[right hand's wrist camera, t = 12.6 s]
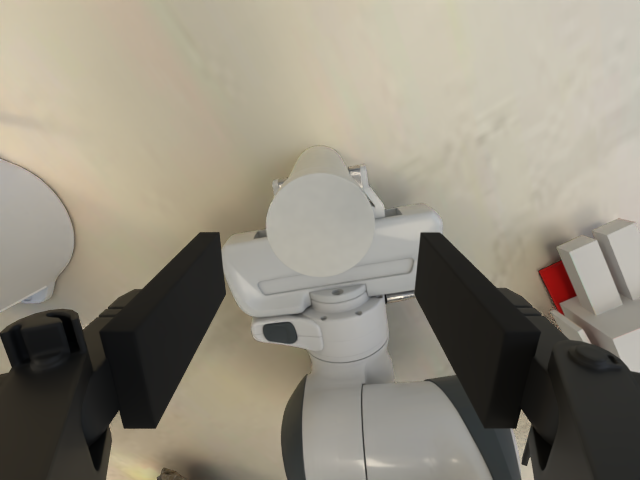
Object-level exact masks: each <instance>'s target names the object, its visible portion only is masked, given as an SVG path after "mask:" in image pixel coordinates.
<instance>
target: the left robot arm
mask: <svg viewBox="0 0 640 480" xmlns="http://www.w3.org/2000/svg"><path fill="white" fill-rule="evenodd" d="M348 171H349V173H350V175H351V177H352V178H353V179H354V180H355V181H356V182H357V183H358V184H359V185H360V187H361V188H362V190H363V191H364V193H365V194H366V195H367V196H368V198H369V199H370V200H371V201H369V202H370V204H371V206H372V209H373V212H374V218H375V233H374V237H373V241H372V243H371V246H370V248H369V250H368V251H367V253H366V254H365V256H364V257H363V258H362V259H361V260H360V261H359V262H358V263H357V264H356V265H355V266H353V267H352V268H350V269H349V270H347V271H345V272H343V273H340V274H337V275H334V276H329V277H312V276H307V275H303V274H301V273H298V272H296V271H294V270H292V269H290V268H289V267H288V266H286V265H285V264H284V263H283V262H282V261H280V260H279V258H278V257H277V256H276V255H275V253H274V252H273V250H272V248H271V246H270V244H269V241H268V238H267V233H266V229H262V230H256V231H250V232H244V233H237V234H233V235H231V236H230V237H229V238H228V240H227V241H226V242H225V244H224V245H223V247H222V249H221V252H222V262H223V271H224V275H225V278H226V281H227V283H228V286H229V288H230V291H231V293H232V295H233V297H234V299H235V301H236V303H237V305H238V306H239V308H240V309H241V310H242V311H243V312H244V313H246V314H247V315H249V316H252V322H251V332H252V336H253V338H254V339H255V340H257V341H259V342H264V343H273V344H281V345H287V346H293V347H298V348H303V349H306V350H307V352H308V354H309V356H310V358H311V362H312V371H311V373H310V374H309V375H308V374H307V375H306V376H305V377H304V378H303V379H302V380H301V382H300V383H299V385H298V386H297V388H296V389H295V391H294V392H293V394H292V396H291V397H290V399H289V401H288V403H287V405H286V408H285V411H284V415H283V421H282V428H281V447H282V456H283V462H284V468H285V472H286V476H287V480H521V468H520V458H519V452H518V446H517V442H516V438H515V434H514V431H513V429H484V427H483V425H482V423H481V421H480V419H479V417H478V415H477V413H476V411H475V410H474V408H473V406H472V404H471V402H470V400H469V398H468V396H467V394H466V392H465V390H464V389H463V387H462V385H461V383H460V381H459V379H458V377H457V375H454V376H447V377H440V378H433V379H427V380H424V381H419V382H401V383H395V380H394V370H393V363H392V360H391V357H390V355H389V353H388V351H387V345H388V341H389V328H388V320H387V312H386V305H385V304H386V303H392V302H398V301H404V300H407V299H411V298H416V297H415V295H414V290H415V281H416V271H417V262H418V252H419V243H420V233H421V232H440V233H441V234H442V235H443V222H442V218H441V217H440V215H439V214H438V213H437V212H436V211H435V210H434V209H433V208H431V207H430V206H428V205H427V204H425V203H419V204H413V205H407V206H401V207H395V208H389V209H384V204H383V203H382V201H381V200H380V198H379V197H378V196H377V194H376V193H375V192H374V191H373V189H372V188H371V187H370V186H369V184H368V177H367V170H366V166H365V165H364V164H361V165H355V166H350V167H348ZM287 179H288V177H287V178H280V179H275V180H273V181H272V186H273V191H274V196H275V195H276V193H277V191H278V189H279V188H280V186H281V185H282V184H283V183H284V182H285V181H286V180H287ZM73 250H74V231H73V226H72V223H71V220H70V217H69V215H68V213H67V210H66V209H65V207H64V205H63V204H62V202H61V201H60V199H59V198H58V196H57V195H56V194H55V193H54V192H53V191H52V189H51V188H50V187H49V186H48V185H47V184H45V183H44V182H43V181H42V180H41V179H39V178H38V177H37V176H35V175H34V174H32V173H31V172H29V171H27V170H26V169H24V168H22V167H20V166H18V165H15V164H13V163H10V162H8V161H5V160H3V159H1V158H0V312H2V311H4V310H6V309H8V308H10V307H12V306H13V305H15V304H17V303H42V302H44V301H46V300H48V299H50V298H51V296H52V294H53V291H54V286H55V281H56V279H57V277H58V276H59V275H60V273H61V272H62V271H63V270H64V269H65V268H66V266H67V265H68V263H69V261H70V259H71V257H72V254H73Z"/></svg>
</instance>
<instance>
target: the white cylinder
mask: <svg viewBox="0 0 640 480" xmlns="http://www.w3.org/2000/svg"><path fill="white" fill-rule="evenodd" d="M266 233H267V238H268V241H269V244H270V246H271V248H272V250H273V252H274V253H275V255H276V256H277V257H278V258H279V260H280V261H282V262H283V263H284V264H285V265H286V266H288V267H289V268H290V269H292V270H294V271H296V272H298V273H301V274H303V275H307V276H312V277H329V276H334V275H337V274H340V273H343V272H345V271H347V270H349V269H350V268H352V267H353V266H355V265H356V264H357V263H358V262H359V261H360V260H361V259H362V258H363V257H364V256H365V254H366V253H367V251H368V250H369V248H370V246H371V243H372V241H373V237H374V233H375V218H374V212H373V209H372V206H371V204H370V202H369V200H368V198H367V197H366V195H365V193H364V191H363V190H362V188H361V187H360V185H359V184H358V183H357V182H356V181H355V180H354V179H353V178H352V177H351V176H349V175H348V174H346V173H345V172H342V171H340V170H338V169H335V168H331V167H324V166H317V167H310V168H306V169H303V170H300V171H298V172H296V173H295V174H293V175H292V176H290V177H289V178H288V179H287V180H286V181H285V182H284V183H283V184H282V185H281V186H280V188H279V189H278V191H277V193H276V195H275V196H274V198H273V200H272V202H271V204H270V206H269V209H268V212H267V216H266Z"/></svg>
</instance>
